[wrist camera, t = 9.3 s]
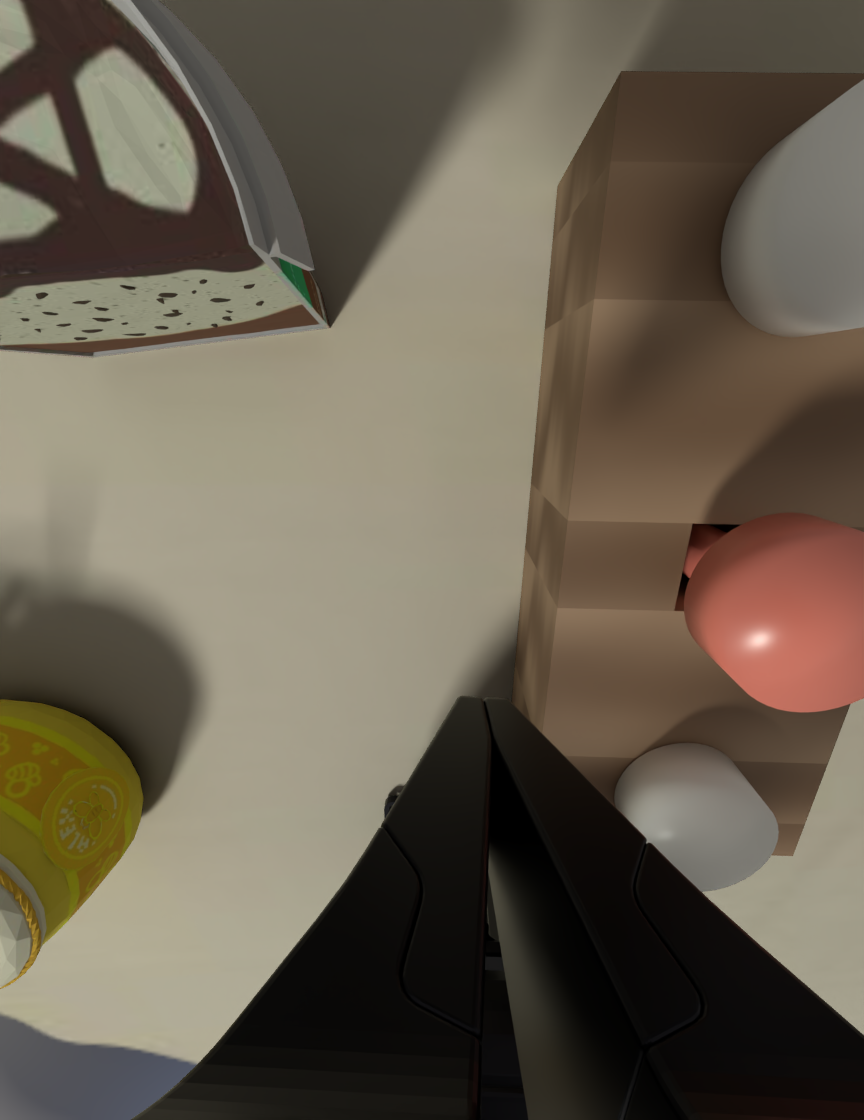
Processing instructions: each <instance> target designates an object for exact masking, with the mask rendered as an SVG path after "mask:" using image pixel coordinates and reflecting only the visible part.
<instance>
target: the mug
mask: <svg viewBox="0 0 864 1120" xmlns="http://www.w3.org/2000/svg"><path fill="white" fill-rule="evenodd" d="M142 805H143V793H142V788H141V783H140V778H139V776H138V774H137V772H136V770H135V768H134V767H133V765H132V763H131V761H130V759H129V757H128V756H127V755H126V754H125V753H124V752H123V750H122V749H121V748H120V747H119V746H118V745H117V744H116V742H115V741H114V740H113V739H111V738H110V737H109V736H107V735H106V734H105V733H103V732H102V731H101V730H99V729H98V728H97V727H95V726H94V725H93V724H91V723H90V722H89V721H87V720H86V719H84V718H82V717H79V716H77V715H75V714H73V713H70V712H68V711H66V710H63V709H60V708H56V707H53V706H49V705H46V704H43V703H35V702H25V701H15V700H4V699H0V989H1V988H4V987H6V986H8V985H10V984H11V983H13V982H15V981H16V980H17V979H18V978H20V977H21V976H22V975H23V974H25V973H26V971H27V970H28V969H29V968H30V967H31V966H32V965H33V963H34V961H35V959H36V957H37V955H38V953H39V951H40V948H41V947H42V945H43V944H44V943H45V942H46V941H48V940H49V939H50V938H51V937H52V936H53V935H54V934H55V933H56V932H57V931H58V930H59V929H60V928H61V927H62V926H63V925H64V924H65V923H66V922H67V921H68V920H69V919H70V918H71V917H72V916H73V915H74V913H75V912H76V911H77V910H78V909H79V908H80V907H81V906H82V904H83V903H84V902H85V901H86V900H87V899H88V898H89V897H90V896H91V894H92V893H93V892H94V891H95V889H96V888H97V887H98V886H99V884H100V883H101V882H102V881H103V880H104V878H105V877H106V876H107V875H108V873H109V872H110V871H111V870H112V869H113V867H114V866H115V865H116V864H117V862H118V861H119V860H120V859H121V857H122V856H123V854H124V853H125V851H126V850H127V848H128V847H129V845H130V844H131V842H132V841H133V839H134V837H135V834H136V831H137V829H138V826H139V823H140V820H141V813H142Z"/></svg>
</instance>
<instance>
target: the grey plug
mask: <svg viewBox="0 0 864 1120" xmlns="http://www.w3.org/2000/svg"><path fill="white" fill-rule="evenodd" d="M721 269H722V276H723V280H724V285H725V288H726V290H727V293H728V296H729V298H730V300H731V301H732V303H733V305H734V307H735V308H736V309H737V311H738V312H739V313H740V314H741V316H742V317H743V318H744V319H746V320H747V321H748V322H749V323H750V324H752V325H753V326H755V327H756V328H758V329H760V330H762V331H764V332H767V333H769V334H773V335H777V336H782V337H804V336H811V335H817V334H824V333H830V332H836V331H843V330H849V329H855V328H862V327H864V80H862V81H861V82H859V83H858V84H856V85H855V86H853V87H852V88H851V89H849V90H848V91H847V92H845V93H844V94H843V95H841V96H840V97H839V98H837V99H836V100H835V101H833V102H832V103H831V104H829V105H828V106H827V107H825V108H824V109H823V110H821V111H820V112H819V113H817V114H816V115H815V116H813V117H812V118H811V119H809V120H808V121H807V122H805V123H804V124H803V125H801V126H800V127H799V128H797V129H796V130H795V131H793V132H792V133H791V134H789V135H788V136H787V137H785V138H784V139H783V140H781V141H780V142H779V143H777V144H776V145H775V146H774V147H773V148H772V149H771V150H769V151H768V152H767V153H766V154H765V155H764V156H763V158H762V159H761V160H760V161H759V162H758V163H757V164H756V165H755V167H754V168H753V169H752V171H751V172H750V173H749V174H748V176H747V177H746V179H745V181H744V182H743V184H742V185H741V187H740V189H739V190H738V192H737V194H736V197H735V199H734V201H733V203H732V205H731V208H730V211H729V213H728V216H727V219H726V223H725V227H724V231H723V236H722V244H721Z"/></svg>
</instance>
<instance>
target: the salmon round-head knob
mask: <svg viewBox="0 0 864 1120" xmlns="http://www.w3.org/2000/svg"><path fill="white" fill-rule="evenodd" d="M682 573H683V574H684V575H686V576H687V577H688V578H690V579H689V581H688V584H687V588H686V591H685V598H684V615H685V621H686V624H687V627H688V630H689V632H690V634H691V636H692V638H693V639H694V640H695V642H696V643H697V644H698V645H699V646H700V647H701V648H702V649H703V650H704V651H705V652H706V653H707V654H708V655H709V656H710V657H711V658H712V659H713V660H714V661H715V662H716V663H717V664H718V665H719V666H720V667H721V668H722V669H723V670H724V671H725V672H726V673H727V674H728V675H729V676H730V677H731V678H732V679H733V680H734V681H735V682H736V683H737V684H738V685H739V686H740V687H741V688H742V689H743V690H744V691H745V692H746V693H747V694H748V695H750V696H751V697H753V698H754V699H756V700H757V701H759V702H761V703H763V704H765V705H767V706H770V707H773V708H776V709H779V710H784V711H790V712H818V711H826V710H830V709H835V708H839V707H842V706H845V705H848V704H851V703H853V702H856V701H858V700H860V699H863V698H864V532H863V531H860V530H857V529H853V528H850V527H847V526H844V525H841V524H838V523H835V522H832V521H829V520H826V519H823V518H820V517H817V516H813V515H809V514H805V513H794V512H790V513H777V514H771V515H766V516H763V517H759V518H756V519H753V520H751V521H748V522H746V523H744V524H742V525H740V526H738V527H736V528H734V529H733V530H731V531H730V532H728V533H726V532H724V531H722V530H720V529H718V528H716V527H714V526H712V525H710V524H694V523H693V524H692V529H691V534H690V539H689V543H688V548H687V553H686V557H685V562H684V567H683V572H682Z"/></svg>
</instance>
